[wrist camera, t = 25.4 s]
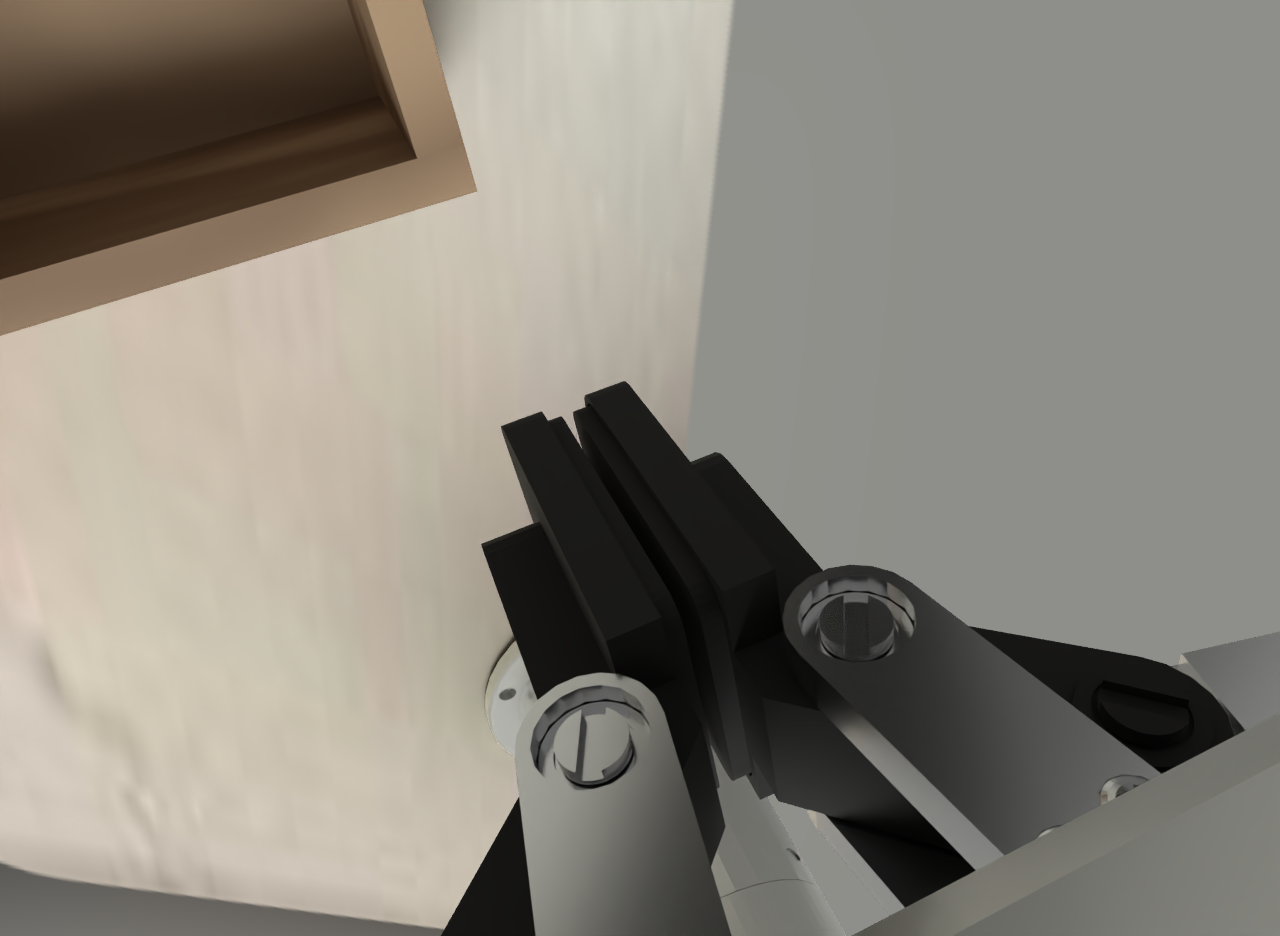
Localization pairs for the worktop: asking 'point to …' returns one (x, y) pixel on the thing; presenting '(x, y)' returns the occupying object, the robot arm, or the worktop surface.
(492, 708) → the robot arm
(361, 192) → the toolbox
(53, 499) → the worktop surface
